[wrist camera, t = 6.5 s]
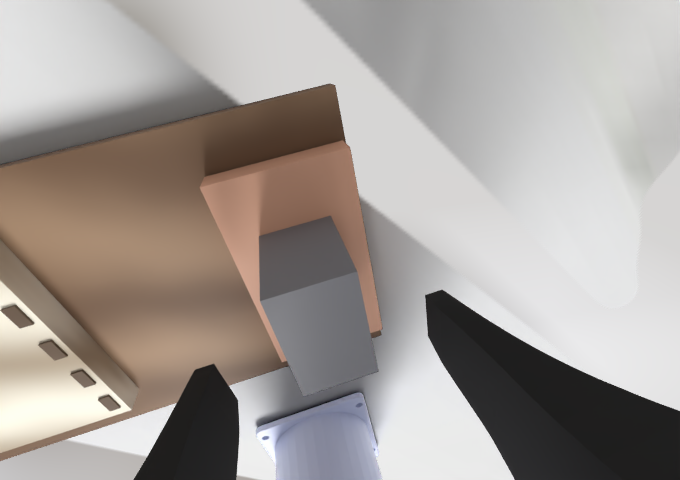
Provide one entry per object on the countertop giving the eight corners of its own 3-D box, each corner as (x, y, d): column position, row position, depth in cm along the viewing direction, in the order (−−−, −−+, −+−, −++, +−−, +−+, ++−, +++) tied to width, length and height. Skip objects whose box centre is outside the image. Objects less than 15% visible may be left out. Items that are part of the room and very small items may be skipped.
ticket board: (376, 323, 20) (389, 352, 18) (-44, 460, 18) (-81, 510, 16) (329, 83, 12) (343, 88, 11) (-408, 265, 10) (-565, 313, 8)
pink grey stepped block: (375, 314, 18) (414, 396, 13) (280, 344, 17) (288, 441, 13) (342, 140, 13) (388, 183, 8) (204, 176, 12) (175, 244, 8)
